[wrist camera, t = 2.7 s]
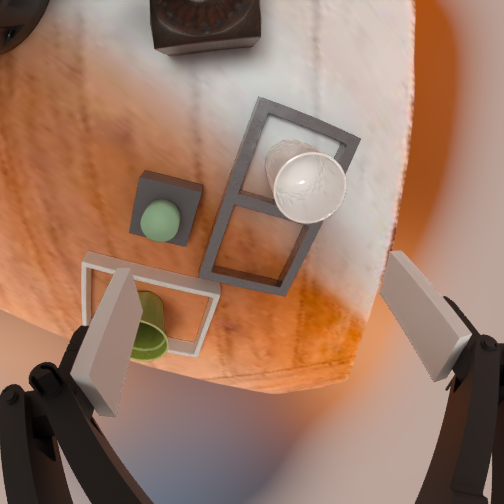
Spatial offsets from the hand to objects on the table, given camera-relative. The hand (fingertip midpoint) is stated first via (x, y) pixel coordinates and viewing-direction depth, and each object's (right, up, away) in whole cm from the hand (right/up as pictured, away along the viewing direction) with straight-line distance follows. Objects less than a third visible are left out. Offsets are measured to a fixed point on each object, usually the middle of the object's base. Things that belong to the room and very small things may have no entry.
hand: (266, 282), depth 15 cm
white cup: (+4, +13, +24) cm, 28 cm away
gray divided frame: (+2, +8, +27) cm, 28 cm away
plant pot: (-18, -7, +34) cm, 39 cm away
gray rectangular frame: (-18, -7, +34) cm, 39 cm away
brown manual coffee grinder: (-9, +30, +12) cm, 33 cm away
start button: (-12, +7, +24) cm, 28 cm away
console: (-12, +8, +25) cm, 29 cm away
